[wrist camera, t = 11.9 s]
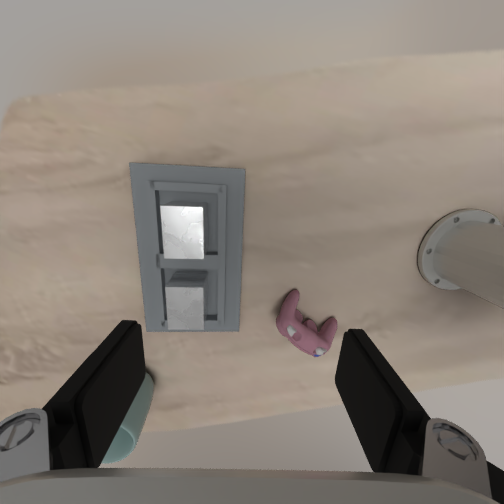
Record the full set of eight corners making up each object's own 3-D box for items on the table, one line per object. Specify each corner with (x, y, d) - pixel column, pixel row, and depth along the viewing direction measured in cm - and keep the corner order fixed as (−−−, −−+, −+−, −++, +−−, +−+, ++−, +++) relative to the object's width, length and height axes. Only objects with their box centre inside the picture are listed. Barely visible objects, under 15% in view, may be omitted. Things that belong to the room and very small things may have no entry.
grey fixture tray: (244, 169, 30) (245, 168, 28) (238, 327, 37) (239, 337, 35) (132, 163, 29) (123, 161, 26) (148, 327, 36) (142, 338, 34)
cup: (138, 403, 41) (109, 471, 31) (101, 378, 38) (57, 444, 29) (169, 377, 39) (148, 441, 30) (132, 351, 37) (96, 410, 28)
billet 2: (207, 271, 33) (203, 287, 28) (208, 308, 35) (203, 329, 30) (175, 271, 33) (165, 287, 28) (177, 308, 34) (168, 329, 30)
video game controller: (275, 297, 38) (268, 335, 33) (295, 285, 35) (291, 324, 30) (318, 328, 40) (317, 367, 35) (339, 318, 38) (343, 360, 32)
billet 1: (207, 202, 30) (202, 207, 25) (208, 246, 32) (203, 259, 27) (172, 201, 30) (160, 205, 25) (174, 246, 31) (164, 258, 27)
